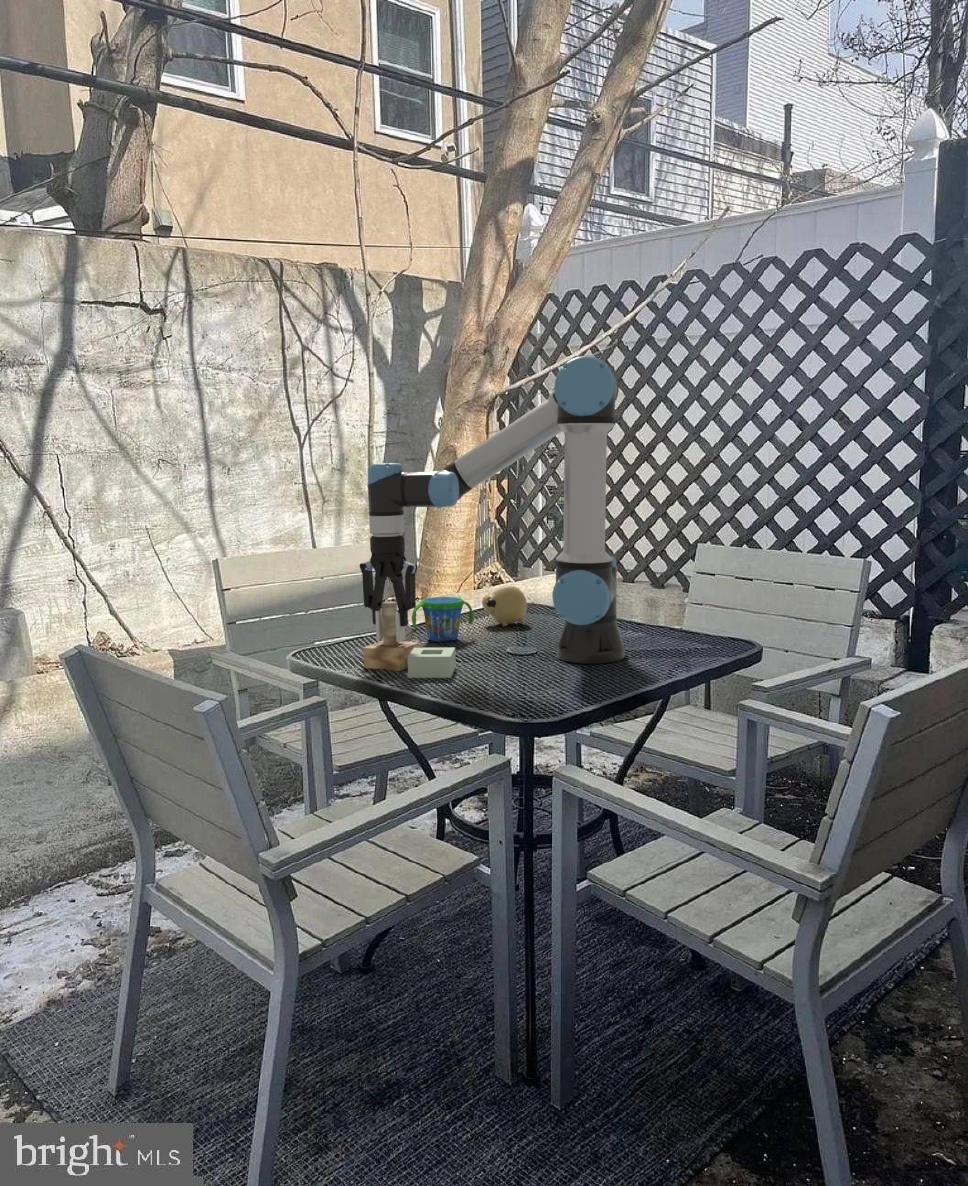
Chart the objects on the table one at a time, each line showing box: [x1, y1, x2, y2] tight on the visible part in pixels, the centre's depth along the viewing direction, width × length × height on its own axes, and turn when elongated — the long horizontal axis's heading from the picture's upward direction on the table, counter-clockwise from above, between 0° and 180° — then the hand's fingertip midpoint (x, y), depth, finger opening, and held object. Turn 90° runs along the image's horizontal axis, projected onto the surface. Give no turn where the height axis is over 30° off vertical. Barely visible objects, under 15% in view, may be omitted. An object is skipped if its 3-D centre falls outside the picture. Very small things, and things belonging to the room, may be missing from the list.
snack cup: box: [411, 596, 474, 643], centre depth 231 cm, size 16×10×10 cm
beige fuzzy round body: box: [481, 585, 528, 627], centre depth 249 cm, size 10×12×11 cm
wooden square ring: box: [362, 639, 420, 672], centre depth 205 cm, size 9×9×4 cm
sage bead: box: [407, 647, 457, 679], centre depth 197 cm, size 9×9×4 cm
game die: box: [403, 622, 418, 642], centre depth 221 cm, size 9×8×10 cm
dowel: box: [381, 601, 399, 648], centre depth 204 cm, size 3×3×14 cm
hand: (390, 639), depth 204 cm, fingers open, 4 cm apart
